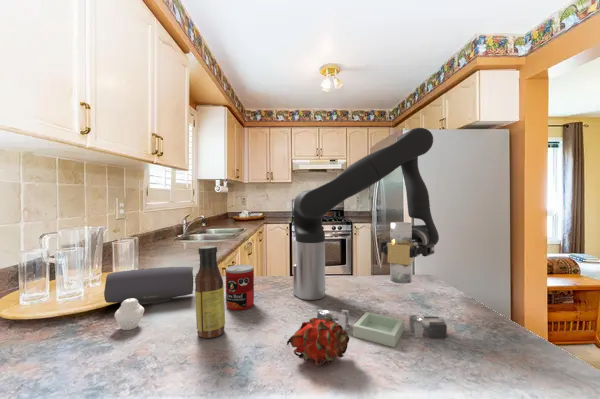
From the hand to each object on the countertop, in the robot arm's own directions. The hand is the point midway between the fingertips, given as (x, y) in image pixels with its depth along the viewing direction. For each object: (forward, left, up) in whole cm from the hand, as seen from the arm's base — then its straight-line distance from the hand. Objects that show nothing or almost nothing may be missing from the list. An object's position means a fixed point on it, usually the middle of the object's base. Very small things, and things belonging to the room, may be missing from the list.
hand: (398, 252), depth 69 cm
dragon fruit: (-10, -23, -18) cm, 31 cm away
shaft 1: (-14, -8, -18) cm, 24 cm away
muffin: (-55, -34, -18) cm, 67 cm away
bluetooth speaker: (-67, -21, -18) cm, 72 cm away
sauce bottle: (-36, -26, -18) cm, 48 cm away
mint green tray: (-3, -6, -18) cm, 19 cm away
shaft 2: (+7, -1, -18) cm, 19 cm away
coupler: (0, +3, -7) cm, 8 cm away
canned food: (-42, -10, -18) cm, 47 cm away
